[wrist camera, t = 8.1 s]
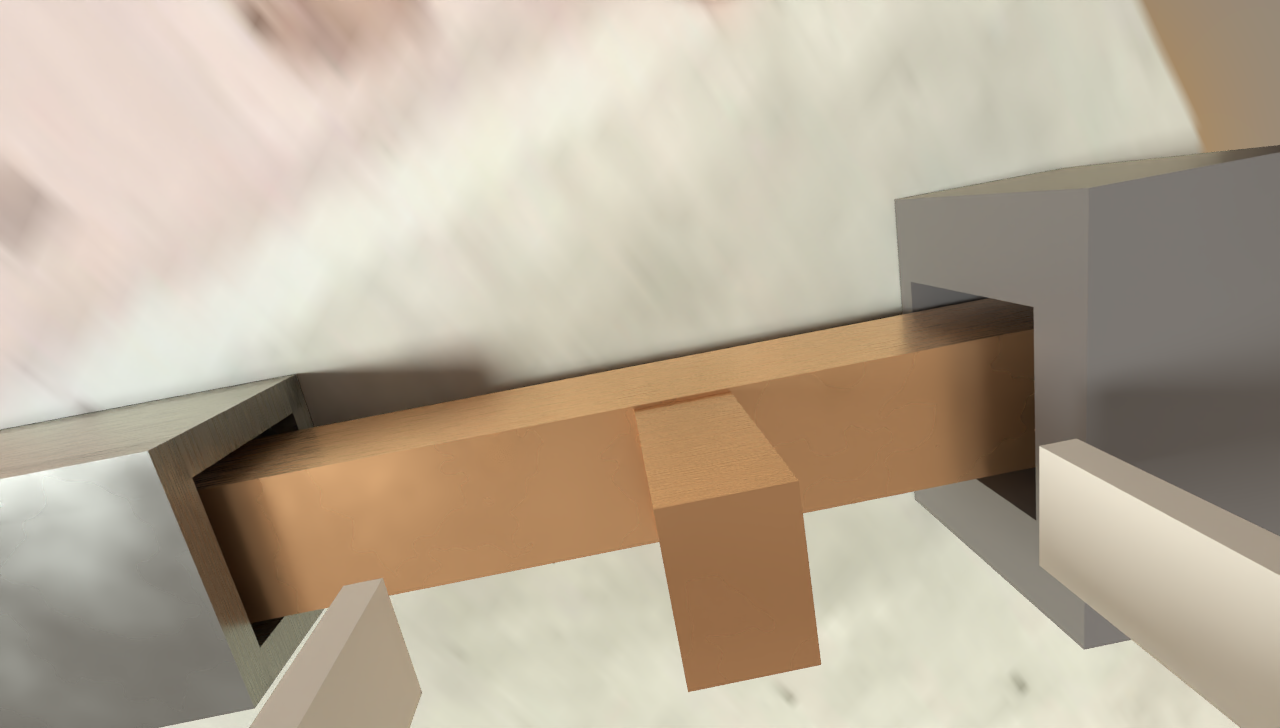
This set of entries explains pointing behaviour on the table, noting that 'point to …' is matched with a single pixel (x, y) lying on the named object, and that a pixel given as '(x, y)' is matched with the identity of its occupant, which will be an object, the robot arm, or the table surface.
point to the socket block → (1118, 335)
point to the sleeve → (132, 565)
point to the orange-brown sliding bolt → (640, 475)
